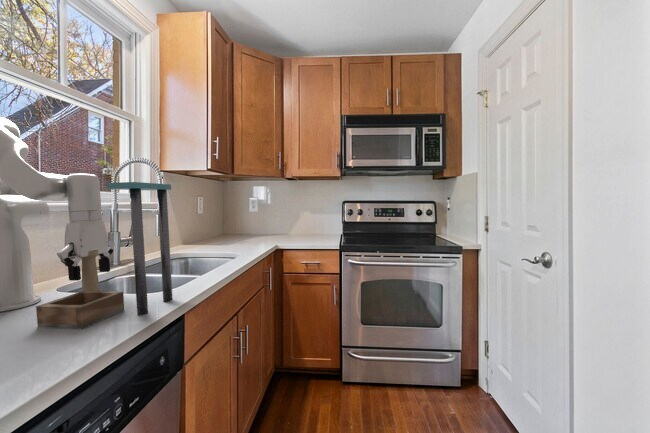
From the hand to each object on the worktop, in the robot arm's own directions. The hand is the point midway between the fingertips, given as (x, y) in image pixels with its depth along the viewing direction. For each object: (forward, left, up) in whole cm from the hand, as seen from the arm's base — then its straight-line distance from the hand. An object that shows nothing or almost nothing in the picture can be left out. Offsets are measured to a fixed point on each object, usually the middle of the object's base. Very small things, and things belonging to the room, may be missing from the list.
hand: (90, 275), depth 89 cm
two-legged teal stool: (+20, -3, -8) cm, 22 cm away
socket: (+10, -12, -8) cm, 17 cm away
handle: (0, 0, -8) cm, 8 cm away
